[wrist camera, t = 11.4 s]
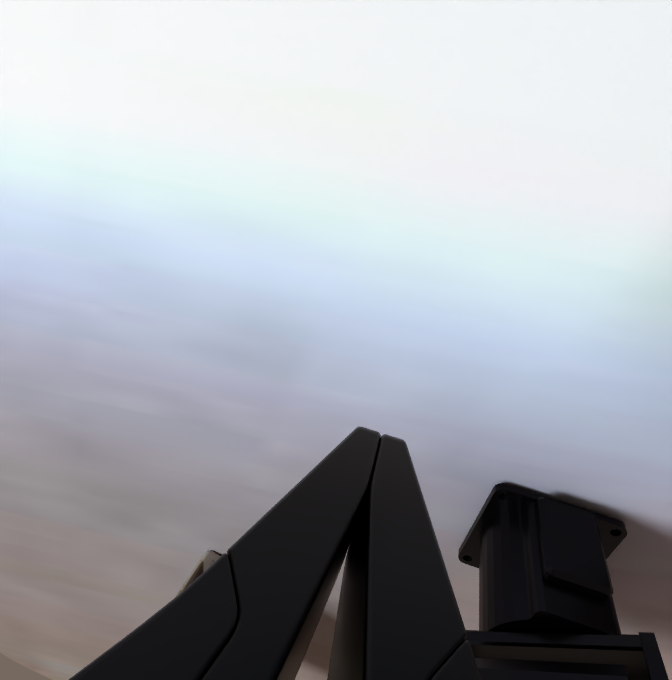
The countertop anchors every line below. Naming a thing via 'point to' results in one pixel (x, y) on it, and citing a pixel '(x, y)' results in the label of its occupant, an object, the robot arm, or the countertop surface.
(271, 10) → the countertop surface
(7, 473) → the countertop surface
